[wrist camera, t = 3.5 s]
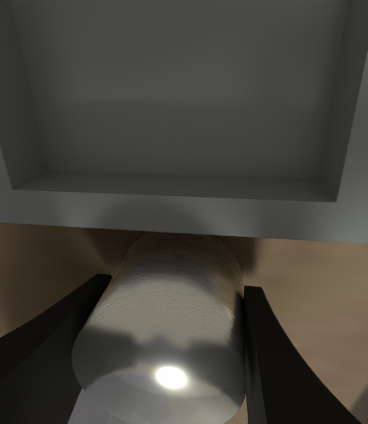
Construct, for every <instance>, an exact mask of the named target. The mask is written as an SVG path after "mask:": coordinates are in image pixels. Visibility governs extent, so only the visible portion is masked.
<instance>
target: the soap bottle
mask: <svg viewBox="0 0 368 424" xmlns="http://www.w3.org/2000/svg"><path fill="white" fill-rule="evenodd" d="M68 424H129V423H127V422H125V421H122V420H120V419H119V418H117V417H115V416H113V415H111V414H110V413H108V412H107V411H105V410H104V409H103V408H101V407H100V406H99V405H98V404H96V403H95V402H94V401H93V400H92V399H91V398H90V397H89V396H88V394H87V393H86V392H85V391H84V389H83V388H82V390H81V392H80V394H79V396H78V399H77V401H76V404H75V406H74V409H73V412H72V414H71V417H70V419H69V422H68Z"/></svg>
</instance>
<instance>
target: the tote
mask: <svg viewBox="0 0 368 424" xmlns="http://www.w3.org/2000/svg"><path fill="white" fill-rule="evenodd" d="M0 223H14V224H31V225H49V226H66V227H84V228H101V229H119V230H136V231H154V232H171V233H189V234H206V235H224V236H241V237H259V238H276V239H294V240H311V241H329V242H346V243H364V244H368V0H0Z"/></svg>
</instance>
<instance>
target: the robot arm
mask: <svg viewBox="0 0 368 424" xmlns="http://www.w3.org/2000/svg"><path fill="white" fill-rule="evenodd" d="M111 279H112V277H111V275H106V274H96V275H95V276H94V277H92V278H91V279H89V280H88V281H87V282H85V283H84V284H83V285H81V286H80V287H78V288H77V289H76V290H74V291H73V292H72V293H70V294H69V295H68V296H66V297H65V298H63V299H62V300H61V301H59V302H58V303H56V304H55V305H53V306H52V307H50V308H49V309H47V310H46V311H44V312H43V313H41V314H40V315H38V316H37V317H35V318H34V319H32V320H31V321H29V322H27V323H26V324H24V325H22V326H21V327H19V328H17V329H15V330H13V331H12V332H10V333H8V334H6V335H4V336H2V337H0V424H68V422H69V419H70V417H71V414H72V412H73V409H74V406H75V404H76V401H77V399H78V396H79V394H80V392H81V390H82V387H81V385H80V384H79V382H78V380H77V378H76V376H75V373H74V370H73V366H72V349H73V345H74V342H75V340H76V338H77V336H78V334H79V333H80V331H81V329H82V328H83V326H84V324H85V323H86V321H87V319H88V318H89V316H90V314H91V313H92V311H93V309H94V308H95V306H96V304H97V303H98V301H99V299H100V298H101V296H102V294H103V293H104V291H105V289H106V288H107V286H108V284H109V283H110V281H111ZM243 302H244V332H245V362H246V401H247V411H248V424H361V423H360V422H359V421H358V420H357V419H356V418H355V417H354V416H353V415H352V414H351V413H350V412H349V411H348V410H347V409H346V408H345V407H344V406H343V404H342V403H341V402H340V401H339V400H338V399H337V398H336V397H335V396H334V395H333V394H332V393H331V392H330V391H329V390H328V388H327V387H326V386H325V385H324V384H323V383H322V382H321V380H320V379H319V378H318V377H317V376H316V374H315V373H314V372H313V371H312V370H311V368H310V367H309V366H308V365H307V363H306V362H305V361H304V359H303V358H302V357H301V355H300V354H299V353H298V351H297V350H296V348H295V347H294V345H293V344H292V342H291V341H290V339H289V338H288V336H287V335H286V333H285V332H284V330H283V328H282V327H281V325H280V323H279V322H278V320H277V318H276V316H275V314H274V313H273V311H272V309H271V307H270V305H269V303H268V301H267V299H266V296H265V294H264V291H263V289H262V288H261V287H255V286H244V297H243Z"/></svg>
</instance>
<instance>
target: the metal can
mask: <svg viewBox="0 0 368 424" xmlns="http://www.w3.org/2000/svg"><path fill="white" fill-rule="evenodd" d="M72 366H73V370H74V373H75V376H76V378H77V380H78V382H79V384H80V385H81V387H82V388H83V389H84V391H85V392H86V393H87V394H88V396H89V397H90V398H91V399H92V400H93V401H94V402H95V403H96V404H98V405H99V406H100V407H101V408H103V409H104V410H105V411H107V412H108V413H110V414H111V415H113V416H115V417H117V418H119V419H120V420H122V421H125V422H127V423H129V424H223V423H225V422H227V421H228V420H229V419H231V418H232V417H233V416H234V415H235V414H236V413H237V412H238V410H239V409H240V407H241V406H242V403H243V401H244V399H245V394H246V362H245V332H244V302H243V275H242V270H241V267H240V264H239V261H238V259H237V258H236V256H235V254H234V253H233V252H232V250H231V249H230V248H229V247H228V246H227V245H226V244H225V243H224V242H223V241H222V240H220V239H219V238H217V237H216V236H214V235H206V234H189V233H171V232H154V231H149V232H147V233H145V234H144V235H142V236H141V237H140V238H138V239H137V240H136V241H135V242H134V244H133V245H132V246H131V248H130V249H129V251H128V253H127V254H126V256H125V258H124V259H123V261H122V263H121V264H120V266H119V268H118V269H117V271H116V273H115V274H114V276H113V278H112V279H111V281H110V283H109V284H108V286H107V288H106V289H105V291H104V293H103V294H102V296H101V298H100V299H99V301H98V303H97V304H96V306H95V308H94V309H93V311H92V313H91V314H90V316H89V318H88V319H87V321H86V323H85V324H84V326H83V328H82V329H81V331H80V333H79V334H78V336H77V338H76V340H75V342H74V345H73V349H72Z"/></svg>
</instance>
